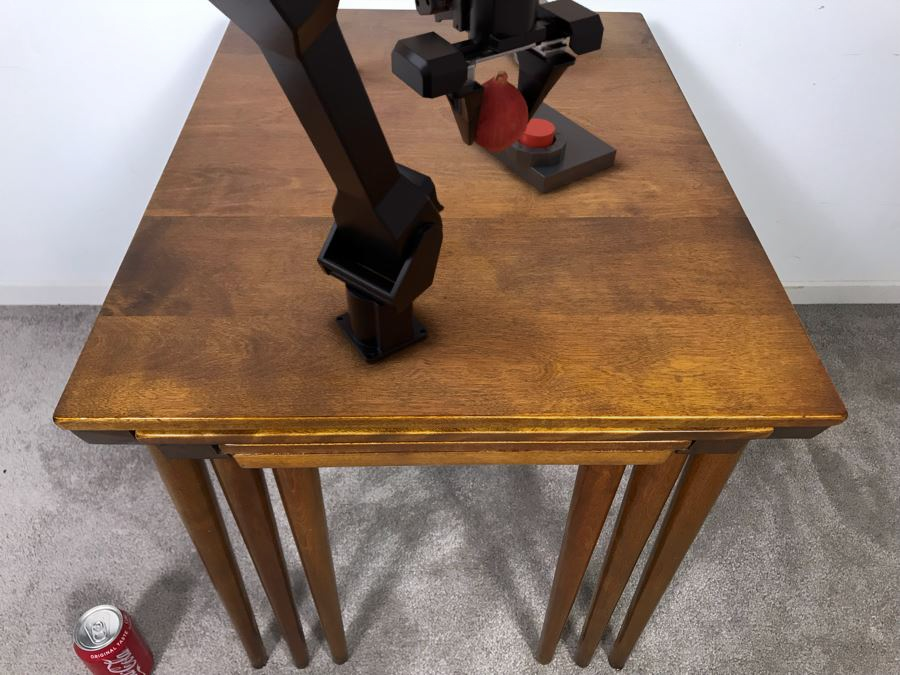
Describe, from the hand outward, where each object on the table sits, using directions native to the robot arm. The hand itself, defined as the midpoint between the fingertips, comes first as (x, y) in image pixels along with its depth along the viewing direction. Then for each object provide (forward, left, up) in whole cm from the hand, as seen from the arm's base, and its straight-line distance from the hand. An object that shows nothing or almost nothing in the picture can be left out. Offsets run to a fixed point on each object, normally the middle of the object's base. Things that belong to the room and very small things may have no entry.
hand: (494, 134), depth 67 cm
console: (+10, -16, -12) cm, 22 cm away
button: (+8, -13, -9) cm, 17 cm away
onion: (0, 0, -2) cm, 2 cm away
